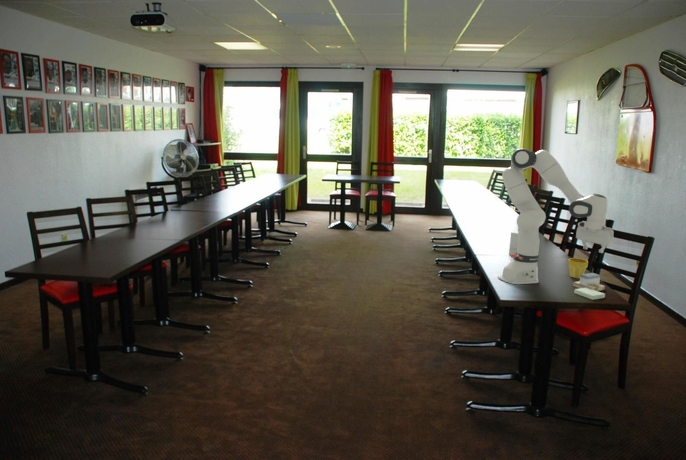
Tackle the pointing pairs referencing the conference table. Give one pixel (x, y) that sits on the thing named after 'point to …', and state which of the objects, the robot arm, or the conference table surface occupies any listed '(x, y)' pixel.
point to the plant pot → (577, 267)
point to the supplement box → (513, 242)
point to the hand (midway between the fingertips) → (593, 250)
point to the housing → (589, 279)
